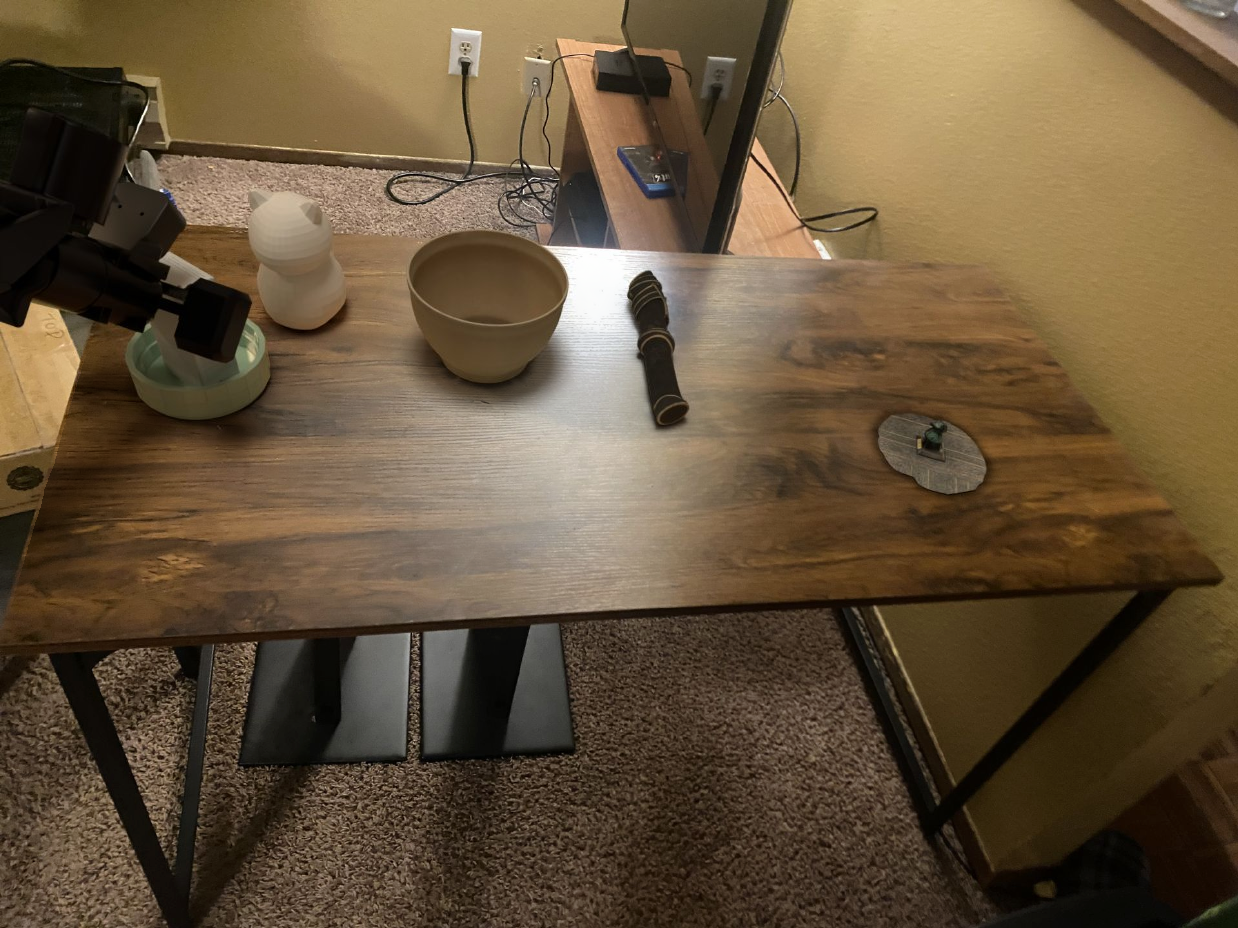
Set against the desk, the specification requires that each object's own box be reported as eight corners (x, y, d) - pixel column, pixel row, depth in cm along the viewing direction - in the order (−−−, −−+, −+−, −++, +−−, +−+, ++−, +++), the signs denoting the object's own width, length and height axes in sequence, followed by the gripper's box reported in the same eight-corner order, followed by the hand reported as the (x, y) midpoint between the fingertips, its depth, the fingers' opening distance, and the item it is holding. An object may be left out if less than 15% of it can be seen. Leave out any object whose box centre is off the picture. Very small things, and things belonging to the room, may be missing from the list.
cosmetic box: (243, 378, 83) (220, 275, 74) (205, 401, 80) (176, 297, 71) (200, 350, 85) (172, 247, 76) (161, 372, 82) (128, 267, 73)
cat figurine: (245, 333, 88) (217, 206, 77) (291, 268, 97) (272, 145, 86) (329, 349, 88) (313, 225, 78) (368, 283, 97) (358, 163, 86)
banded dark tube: (698, 409, 86) (670, 266, 102) (651, 398, 84) (630, 255, 101) (682, 436, 89) (657, 293, 105) (636, 426, 87) (618, 283, 104)
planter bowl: (406, 405, 85) (402, 320, 77) (413, 307, 95) (410, 224, 87) (564, 409, 88) (575, 328, 80) (553, 314, 98) (562, 234, 90)
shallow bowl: (129, 426, 77) (117, 395, 75) (143, 342, 85) (132, 311, 82) (270, 417, 81) (264, 386, 78) (271, 336, 89) (265, 306, 86)
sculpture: (857, 421, 94) (916, 375, 91) (891, 453, 100) (946, 411, 98) (914, 497, 86) (980, 449, 83) (946, 526, 92) (1009, 482, 90)
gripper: (214, 208, 62) (314, 262, 77) (-1, 138, 64) (138, 204, 79) (168, 351, 62) (276, 376, 78) (-46, 276, 64) (102, 315, 80)
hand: (198, 314), depth 79 cm, fingers closed on cosmetic box, 6 cm apart
